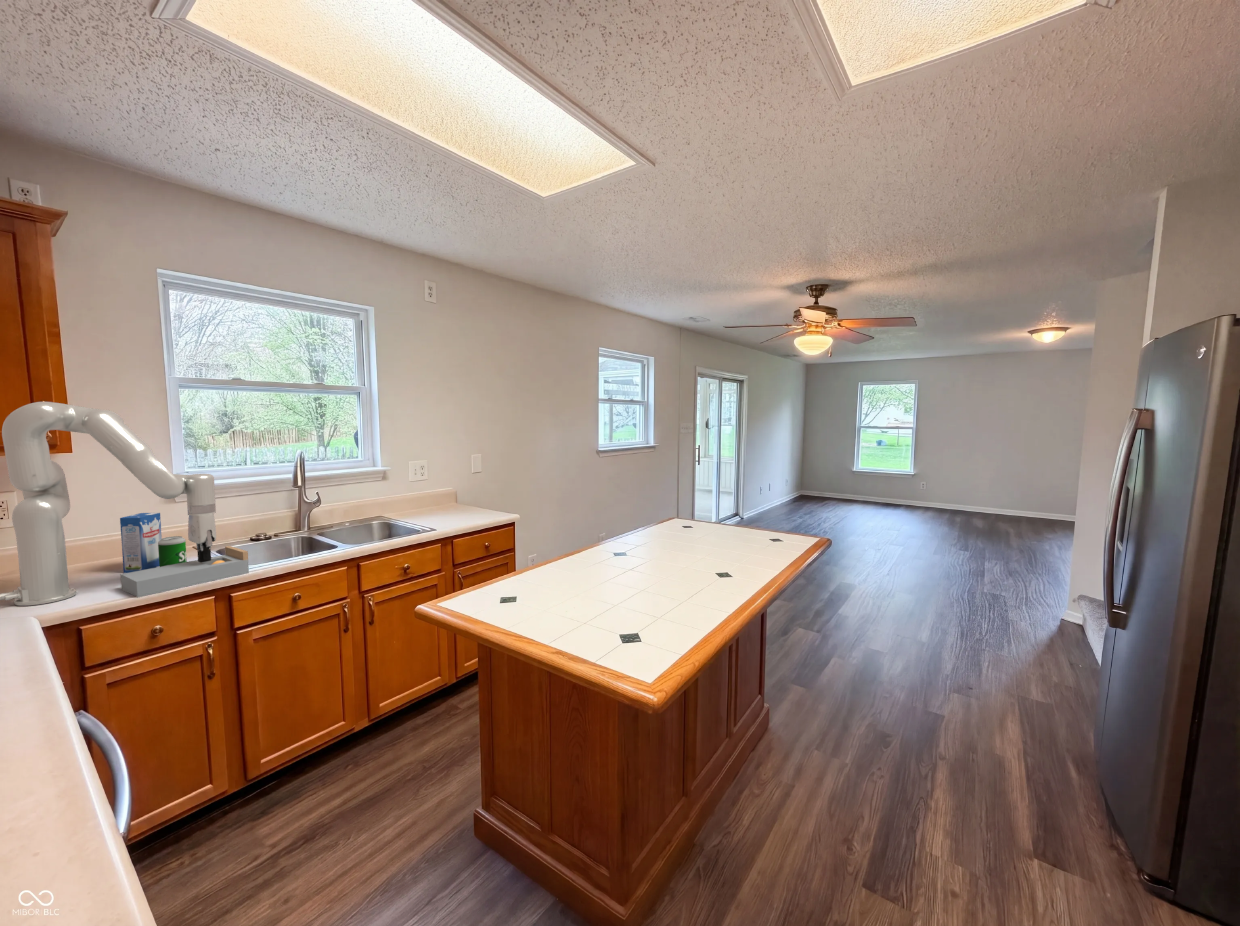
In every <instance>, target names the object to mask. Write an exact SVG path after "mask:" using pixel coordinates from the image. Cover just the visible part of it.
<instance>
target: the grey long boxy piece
mask: <svg viewBox="0 0 1240 926" xmlns="http://www.w3.org/2000/svg"><path fill="white" fill-rule="evenodd" d="M224 550H225V551H224V552H225V553H224V554H222V555H218V556H216V555H215V556H211V561H207V562H202V563H201V562H198V559H196V560H194V559H193V560H189V561H187V562H183V563H178V564H173V565H167V566H162V567H156V568H151V569H146V570H140V571H135V572H130V573H124V572H123V573H121V574H120V583H121V587H120V588H121V590H122V591H124V592H126V593H128V594H130V595H132V596H134V597H136V598H140V597H141V598H142V597H146V596H150V595H154V594H160V593H163V592H168V591H174V590H178V589H184V588H187V587H192V586H195V585H200V584H206V583H209V582H214V581H218V580H223V579H228V578H233V577H236V576H237V577H238V576H241V575H247V574H249V572H250V571H249V567H250V566H249V552H248V550H245V549H242V548H238V547H235V546H231V545H228V546H224ZM219 560H222V561H225V562H222V563H217V564H212V563H213V562H215V561H219ZM211 564H212V565H211Z"/></svg>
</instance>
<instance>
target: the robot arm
mask: <svg viewBox="0 0 1240 926" xmlns="http://www.w3.org/2000/svg"><path fill="white" fill-rule="evenodd" d="M55 430H56V431H64V432H72V433H77V434H78V433H80V434H86V435H87V434H88V435H89V436H91V437H92V438H93V439H94V440H95V441H96V442H98V443H99V445H101V446H102V447H103V448H104V449H106V451H108V452H109V453H110V454H111V455H113V457H115V458H116V459H117V460H118V461H119V462H120V463H121V464H122V465H123V466H124V467H125V468H126V470H128V471H129V472H130V473H131V474H132V475H133V476H134V477H135V478H136V480H138V482H141V484H142V485H144V486H145V487H146V488H148V490H150V491H151V492H152V493H153V494H154V495H155V496H156V497H159V498H161V499H165V500H173V499H175V498H178V497H180V496H182V495H186V506H187V516H188V522H187V523H188V524H187V532H188V533H187V536H188V540H189V541H190V542H192V543H195V544H196V550H197V560H198V562H201V563H202V562H207V561H211V557H212V547H213V545H214V544H213V542H216V540H217V528H216V520H215V519H216V518H215V513H216V512H217V509H216V508H217V507H216V506H217V505H216V491H215V489H216V487H215V486H216V485H215V477H214V475H213V474H211V473H191V474H178V473H177V474H176V473H172V472H171V471H170V470H169V469H168V468H167V467H166V466H165V465H164V464H163V463H161V461H160V460H159V459H158V458H157V456H156V455H155V453H154V452H153V450H152V448H151V446H150V445H149V444H148V443H147V442H146V441H145V440H143V439H142V438H141V437H140V436H139V435H138V434H137V433H136V432H135V431H133V430H132V429H131V427H129V425H127V424H126V423H125V421H124V418H123V417H122V416H121V415H120V414H118V413H117V412H115V411H114V410H113V411H112V410H109V409H108V410H107V409H100V408H99V409H98V408H93V407H92V408H91V407H85V406H79V405H73V404H67V403H66V404H65V403H61V402H60V403H59V402H53V401H36V402H32V403H27V404H25V405H22V406H20V407H18V408H17V409H15V410H13V411H12V412H10V414H8V415H7V416H6V417H5V420H4V421H3V424H2V428H1V437H2V442H3V443H2V444H3V449H4V454H5V455H4V456H5V460H6V467H7V472H8V479H9V483H10V484H11V486H13V487H14V488H15V489H16V490H18V491H21V492H22V496H23V499H22V500H21V501H19V502H18V503H17V504H16V506H14V509H13V510H12V514H11V520H12V522H11V523H12V526H13V529H14V534H15V538H16V539H15V540H16V548H17V549H16V550H17V558H18V571H19V580H20V581H19V582H20V586H18V587H17V589H14V590H12V591H10V592H3V593H0V601H10V600H13V604H14V605H16V606H21V607H22V606H23V607H24V606H36V605H44V604H51V603H54V602H55V603H56V602H59V601H63V600H67V599H70V598H72V597H73V596H76V595H77V592H78V591H77V589H76V588H70V585H69V574H68V573H69V571H68V559H67V558H68V557H67V547H66V537H65V529H64V524H63V518H64V519H65V517H66V516H67V515H68V513H69V512H70V509H71V500H70V494H69V490H68V485H67V477H66V474H65V471H64V469H63V468H62V465H60V464H59V463H57V462H56V461H54V460H52V458H51V454H50V445H49V443H48V441H47V432H49V431H55ZM216 514H217V513H216Z"/></svg>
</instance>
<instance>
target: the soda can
mask: <svg viewBox="0 0 1240 926" xmlns="http://www.w3.org/2000/svg"><path fill="white" fill-rule="evenodd" d="M186 543H187V541H186V538H184V537H183V536H179V535H178V536H177V535H176V536H165V537H163V538H162V539H161V540H160V541H159V542H158V551H159V567H162V566H167V565H173V564H178V563H183V562H188V561H187V560H188V559H187V544H186Z"/></svg>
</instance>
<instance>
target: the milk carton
mask: <svg viewBox="0 0 1240 926" xmlns="http://www.w3.org/2000/svg"><path fill="white" fill-rule="evenodd" d="M161 521H162V520H161V512H141V513H136V514H131V515H127V516H122V517H120V518H119V525H120V536H121V539H120V541H121V553H122V555H121V556H122V568H123V569H122V571H123V574H124V573H130V572H135V571H140V570H146V569H151V568H157V567H158V566H159V551H158V542H159V541H160V540H161V539H162V537H163V536H162V522H161Z"/></svg>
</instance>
